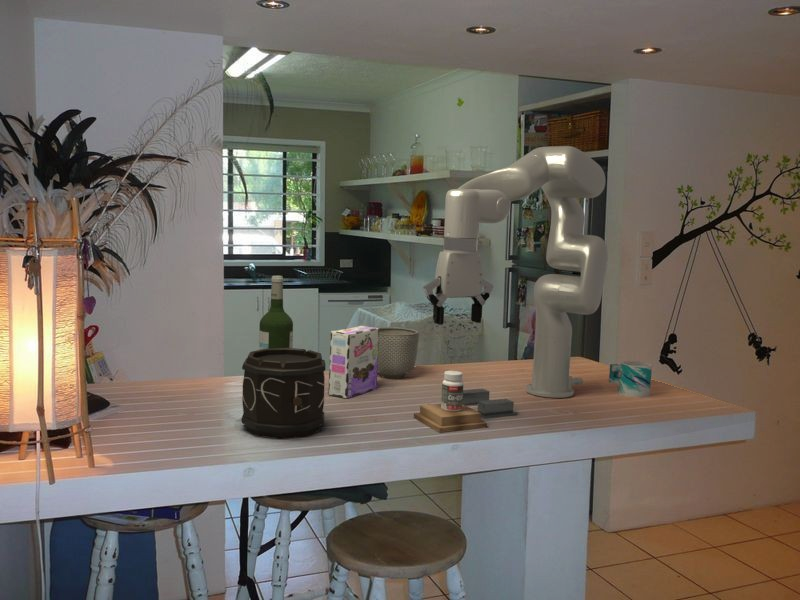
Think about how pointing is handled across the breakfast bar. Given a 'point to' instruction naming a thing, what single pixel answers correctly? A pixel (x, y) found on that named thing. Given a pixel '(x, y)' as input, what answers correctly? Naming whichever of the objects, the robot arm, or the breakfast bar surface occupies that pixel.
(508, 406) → the clamp jaws
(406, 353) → the planter
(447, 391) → the pill bottle
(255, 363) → the wooden barrel
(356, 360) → the candy box
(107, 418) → the breakfast bar surface
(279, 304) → the wine bottle
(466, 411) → the tan square pedestal
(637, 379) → the mug
